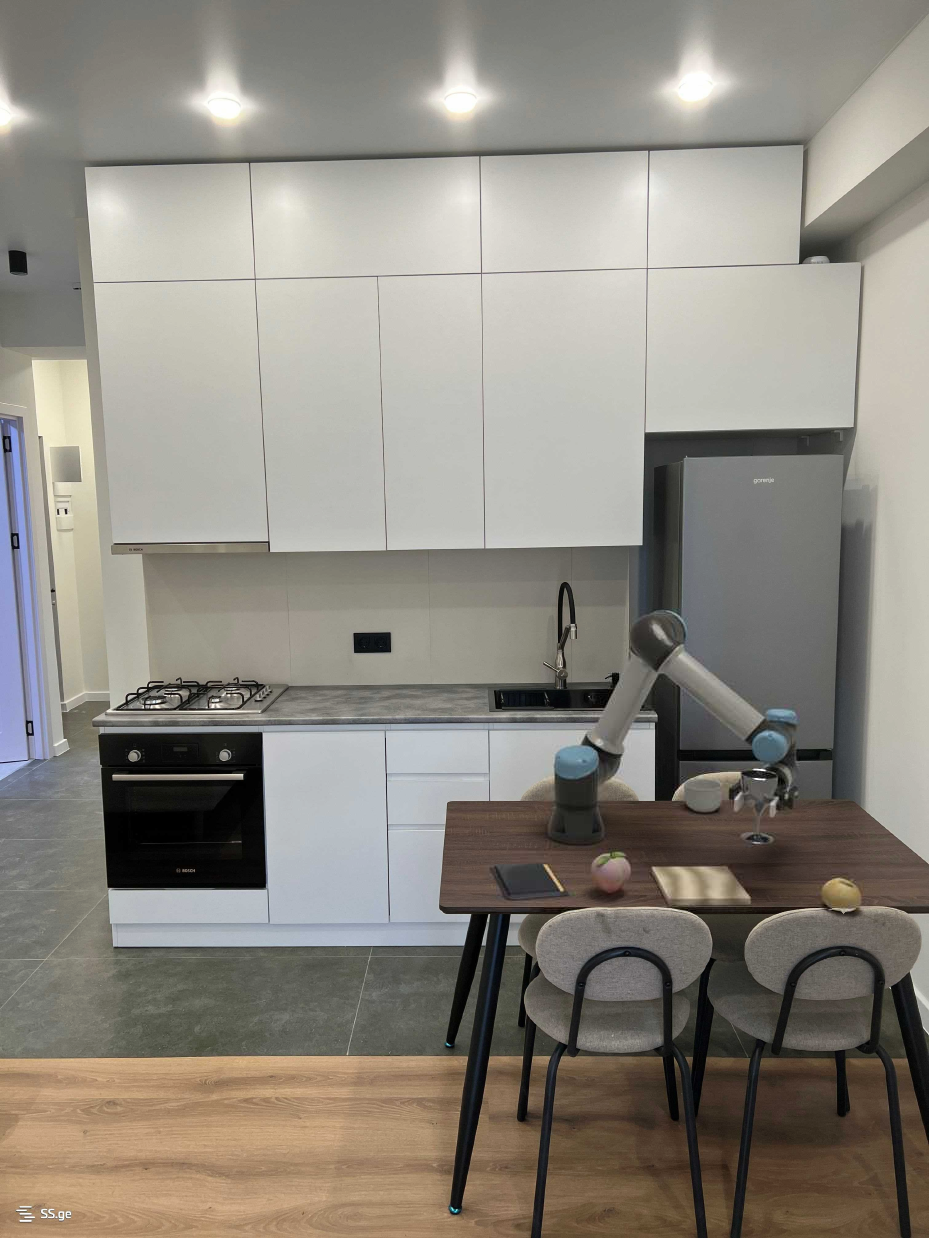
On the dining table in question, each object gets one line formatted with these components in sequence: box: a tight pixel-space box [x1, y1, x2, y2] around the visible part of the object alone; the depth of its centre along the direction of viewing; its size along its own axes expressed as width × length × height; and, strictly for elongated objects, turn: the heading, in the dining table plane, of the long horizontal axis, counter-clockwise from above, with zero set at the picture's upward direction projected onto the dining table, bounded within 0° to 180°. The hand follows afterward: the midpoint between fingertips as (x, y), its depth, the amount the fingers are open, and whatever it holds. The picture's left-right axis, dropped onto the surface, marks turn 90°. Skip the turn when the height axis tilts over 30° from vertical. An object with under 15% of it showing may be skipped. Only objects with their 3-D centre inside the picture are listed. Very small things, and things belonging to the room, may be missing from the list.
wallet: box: [489, 862, 570, 902], centre depth 205 cm, size 20×2×15 cm
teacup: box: [683, 776, 723, 813], centre depth 256 cm, size 14×11×8 cm
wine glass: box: [740, 768, 778, 845], centre depth 197 cm, size 8×8×15 cm
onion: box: [820, 877, 862, 909], centre depth 189 cm, size 8×8×7 cm
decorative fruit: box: [590, 850, 632, 894], centre depth 198 cm, size 9×8×10 cm
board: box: [651, 865, 752, 907], centre depth 200 cm, size 18×18×2 cm
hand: (753, 808), depth 192 cm, fingers closed on wine glass, 7 cm apart
